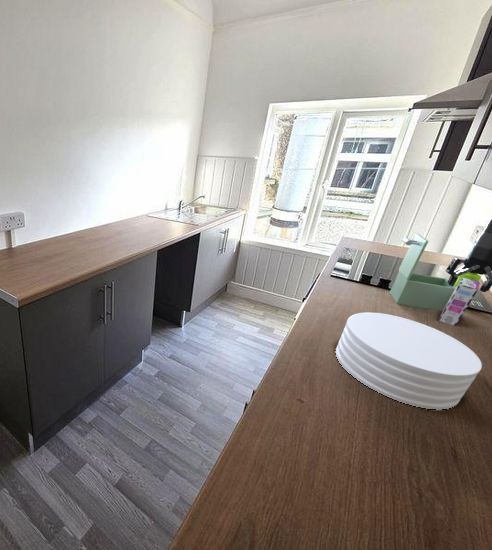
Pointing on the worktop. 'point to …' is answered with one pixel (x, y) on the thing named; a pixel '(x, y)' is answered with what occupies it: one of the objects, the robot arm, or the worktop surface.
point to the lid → (412, 254)
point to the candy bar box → (459, 301)
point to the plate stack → (407, 360)
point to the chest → (422, 291)
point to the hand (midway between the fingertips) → (466, 288)
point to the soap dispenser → (468, 277)
